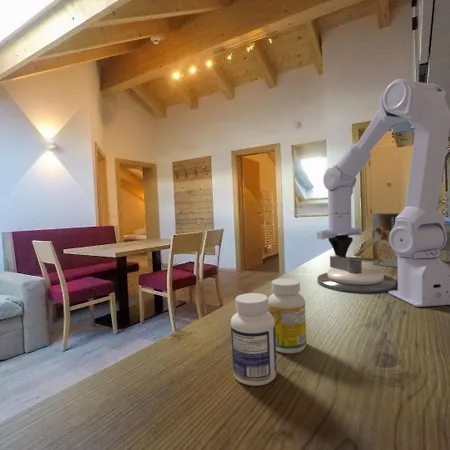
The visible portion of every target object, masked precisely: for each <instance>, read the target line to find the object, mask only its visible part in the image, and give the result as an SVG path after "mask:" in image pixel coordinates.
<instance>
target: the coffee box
mask: <svg viewBox="0 0 450 450" xmlns="http://www.w3.org/2000/svg"><path fill="white" fill-rule="evenodd" d="M400 213H401V212H397V213H396V212H394V213H392V212H389V213H381V212H379V213H374V214H371V224H372V225H371V227H372V231H371V234H372V235H371V237H372V240H371V241H372V265H374V266H383V267H384V266H385V267H386V266H387V267H394V268H398V256H396V252H395V251H394V250H393V249H392V247H391V245H390V242H389V235H390V232H391V230H392V229H393V227H394V225H395V220H396V217H397V216H398V215H399V214H400Z"/></svg>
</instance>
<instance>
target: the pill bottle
mask: <svg viewBox="0 0 450 450" xmlns="http://www.w3.org/2000/svg"><path fill="white" fill-rule="evenodd" d="M268 298H269V296H268V295H265V294H263V293H258V292H257V293H256V292H251V293H250V292H249V293H247V292H246V293H242V294H239V295H237V296H236V297H235V310H236V311H237V312H236V313H235V314H233V315H232V317H231V319H230V331H231V332H230V335H231V353H232V371H233V373H232V374H233V377H234V378H235V380H236V381H238V382H239V383H242V384H243V385H247V386H254V387H255V386H264V385H268V384H269V383H271V382H272V381H273V380H275V378H276V376H277V373H278V372H277V371H278V367H277V351H276V339H275V320H274V317H273V316H272V315H271V314H270V313H269V312H268V307H269V305H268Z"/></svg>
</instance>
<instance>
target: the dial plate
mask: <svg viewBox="0 0 450 450" xmlns="http://www.w3.org/2000/svg"><path fill="white" fill-rule="evenodd" d="M317 284H318V285H319V286H321V287H323V288H326V289H329V290H332V291H338V292H343V293H352V294H353V293H354V294H377V293H380V294H381V293H385V292H389V291H393V290H394V289H396V287H397V285H396V284H397V281H396V280H395V279H394V278H393V277H391V276H388V275H385V274H384V281H383V282H381V283H378V284H372V285H351V284H343V283H338V282H334V281H331V280H329V279H328V272H324V273H322V274H319V275H318V276H317Z"/></svg>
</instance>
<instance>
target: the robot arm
mask: <svg viewBox="0 0 450 450" xmlns="http://www.w3.org/2000/svg"><path fill="white" fill-rule="evenodd" d="M446 94H447V91H446V90H445V89H443V88H442V87H441V86H439V85H438V84H435V83H432V82H431V83H430V82H429V83H427V82H422V81H421V82H420V81H415V80H409V79H406V78H398V79H395V80H393V81H391V83H389V85H388V86H386V89H385V91H384V93H383V95H382V96H380V97H379V99H378V110H377V111H376V113H375V114H374V116H373V118H372V119H371V121H370V123H369V124H368V125H367V127H366V129H365V130H364V132H363V134H362V136H361V137H360V139H359V140H358V141H357V143H352V144H350V145H349V146H348V147H347V148H346V149H345V152H344V153H343V155H342V156H341V158H340V159H339V160H338V162H337V163H336V165H333V166H331V167H328V168H327V169H326V170H325V171H324V174H323V178H322V179H323V180H322V181H323V185H324V186H323V187H325V189H326V190H327V191H328V193H327V194H328V195H327V196H328V197H327V198H328V200H327V201H328V228H327V229H325V230H320V231H316V239H317V240H325V239H328V242H329V243H330V245H331V247H332V248H333V252H334V255H336V256H339V257H344V258H347V252H348V250H349V247H350V246H351V245H352V243H353V240H354V239H353V237H352V236H357V235H358V236H362V235H363V227H352V196H353V193H354V187H355V185H356V183H357V177H356V176H358V174H359V173H360V172H361V171H362V169H363V168H364V167H365V165H366V164H367V163H368V161H370V160H371V157H372V154H371V150H372V149H373V148H374V147H375V146H376V145H377V144H378V143H379V141H380V140H381V139H382V138H383V137H384V136H385V135H386V133H388V132H389V131H390V129H391V128H392V127H393V126H394V125H397V124H400V123H403V122H408V123H409V124H410V125H411V126H413V127H414V129H415V131H414V138H413V145H412V153H411V161H410V169H409V174H408V175H409V176H408V178H409V179H408V183H407V192H406V198H405V207H404V208H403V209H402V211H401V212H399V213H400V214H399V215H398V216H397V217H396V220H395V225H394V227H393V229H392V230H391V232H390V235H389V242H390V245H391V247H392V249H393V250H394V251H395V252H396V256H398V267H397V290H390V291H388V294H390V295H391V296H394V297H395V298H398V299H400V300H402V301H404V302H406V303H408V304H411V305H412V306H413V307H414V306H415V307H416V308H417V307H422V308H423V307H435V306H446V305H447V306H448V305H449V306H450V266H449V265H448V264H447V263H446V262H443V261H442V260H441V259H440V255H441V250H442V249H444V247H445V245H446V243H448V242H447V240H448V234H447V231H446V229H445V228H446V227H445V222H446V218H445V216H443V215H442V214H441V212H440V211H439V210H438V209H439V207H438V206H439V201H440V194H441V187H442V183H443V182H442V179H443V175H444V166H445V159H446V155H447V148H448V141H449V134H450V108H449V106H448V104H447V101H446Z"/></svg>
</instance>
